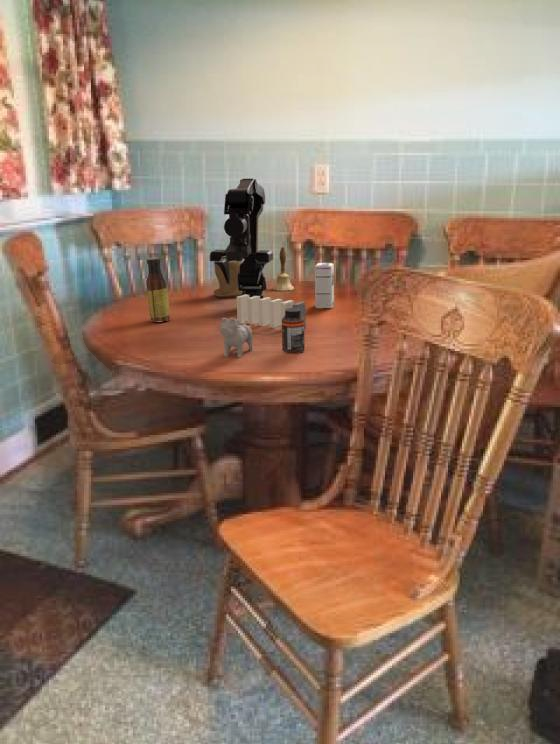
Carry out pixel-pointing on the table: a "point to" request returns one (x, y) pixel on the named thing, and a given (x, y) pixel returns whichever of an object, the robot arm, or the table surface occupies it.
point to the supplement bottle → (293, 331)
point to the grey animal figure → (235, 335)
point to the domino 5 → (284, 306)
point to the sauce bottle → (157, 292)
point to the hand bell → (283, 275)
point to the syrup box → (324, 285)
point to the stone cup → (232, 287)
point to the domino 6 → (301, 310)
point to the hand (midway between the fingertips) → (242, 283)
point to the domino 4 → (275, 313)
